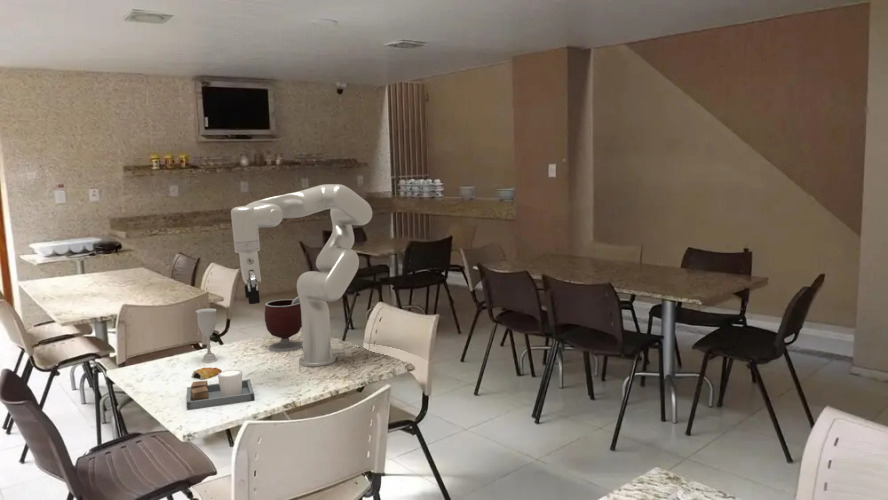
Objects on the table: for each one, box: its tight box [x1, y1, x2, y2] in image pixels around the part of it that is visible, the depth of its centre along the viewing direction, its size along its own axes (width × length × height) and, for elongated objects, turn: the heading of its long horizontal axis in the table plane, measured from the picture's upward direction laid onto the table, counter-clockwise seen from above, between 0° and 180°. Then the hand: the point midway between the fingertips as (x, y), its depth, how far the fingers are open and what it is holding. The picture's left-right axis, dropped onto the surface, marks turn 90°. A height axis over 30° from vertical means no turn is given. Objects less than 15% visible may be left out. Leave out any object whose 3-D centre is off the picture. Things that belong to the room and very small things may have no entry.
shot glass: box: [217, 369, 243, 397], centre depth 190 cm, size 7×7×7 cm
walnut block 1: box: [190, 380, 209, 389], centre depth 191 cm, size 4×4×4 cm
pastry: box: [190, 367, 223, 381], centre depth 211 cm, size 9×7×4 cm
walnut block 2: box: [191, 387, 209, 401], centre depth 185 cm, size 4×4×4 cm
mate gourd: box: [264, 296, 303, 353], centre depth 245 cm, size 16×14×20 cm
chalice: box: [195, 308, 218, 363], centre depth 230 cm, size 7×7×18 cm
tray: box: [186, 379, 255, 411], centre depth 190 cm, size 18×14×3 cm
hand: (252, 300), depth 204 cm, fingers open, 9 cm apart
